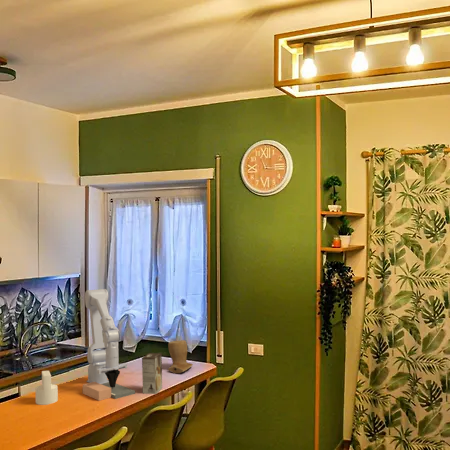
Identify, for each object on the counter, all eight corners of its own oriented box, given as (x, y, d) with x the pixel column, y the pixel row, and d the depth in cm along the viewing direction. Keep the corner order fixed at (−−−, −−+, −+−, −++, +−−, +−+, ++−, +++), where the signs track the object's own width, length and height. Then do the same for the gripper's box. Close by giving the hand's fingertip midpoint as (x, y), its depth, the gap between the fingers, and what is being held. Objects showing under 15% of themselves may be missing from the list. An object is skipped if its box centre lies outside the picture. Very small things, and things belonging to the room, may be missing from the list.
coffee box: (149, 387, 251) (148, 352, 251) (162, 388, 250) (162, 353, 250) (142, 394, 242) (141, 357, 242) (156, 394, 241) (155, 358, 241)
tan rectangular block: (82, 393, 243) (82, 384, 243) (94, 390, 247) (94, 381, 247) (99, 400, 233) (98, 391, 233) (111, 397, 237) (111, 388, 237)
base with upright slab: (34, 399, 236) (34, 372, 236) (56, 396, 240) (56, 369, 240) (36, 406, 228) (36, 377, 228) (59, 403, 232) (58, 374, 232)
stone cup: (174, 365, 289) (174, 337, 289) (195, 367, 286) (194, 338, 285) (161, 373, 275) (161, 343, 275) (183, 375, 271) (183, 344, 271)
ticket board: (91, 389, 250) (91, 385, 250) (111, 384, 257) (110, 381, 257) (115, 399, 235) (115, 395, 235) (135, 394, 242) (135, 390, 242)
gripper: (102, 361, 238) (102, 392, 238) (130, 355, 248) (131, 385, 248) (94, 358, 243) (94, 389, 243) (122, 352, 253) (122, 382, 253)
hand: (112, 386), depth 246 cm, fingers closed
